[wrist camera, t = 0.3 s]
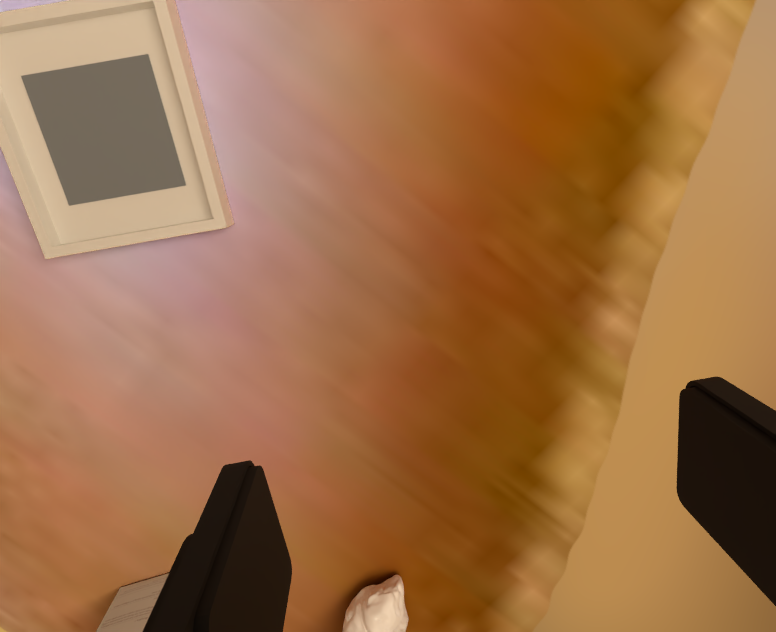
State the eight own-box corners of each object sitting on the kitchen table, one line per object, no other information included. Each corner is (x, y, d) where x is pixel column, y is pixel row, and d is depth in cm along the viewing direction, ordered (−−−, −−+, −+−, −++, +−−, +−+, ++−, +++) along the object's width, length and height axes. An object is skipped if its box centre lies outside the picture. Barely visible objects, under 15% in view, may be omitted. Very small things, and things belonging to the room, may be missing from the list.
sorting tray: (-25, 29, 33) (-51, 21, 31) (173, -5, 33) (161, -16, 31) (62, 253, 38) (45, 259, 36) (234, 223, 38) (227, 227, 36)
